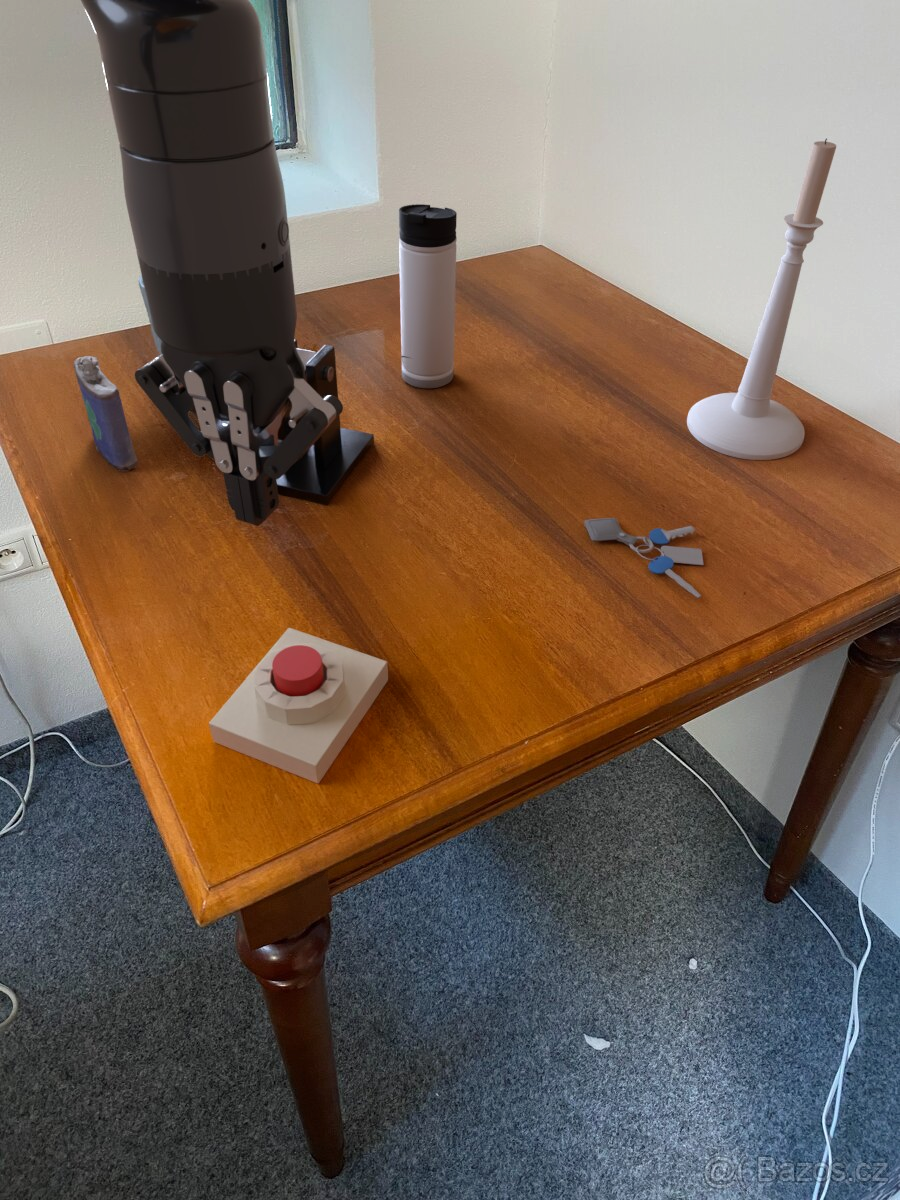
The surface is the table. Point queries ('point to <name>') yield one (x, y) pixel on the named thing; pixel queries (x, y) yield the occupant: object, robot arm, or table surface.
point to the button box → (300, 709)
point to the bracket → (323, 443)
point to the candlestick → (767, 348)
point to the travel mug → (427, 294)
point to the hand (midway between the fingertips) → (256, 516)
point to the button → (298, 670)
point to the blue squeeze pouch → (105, 414)
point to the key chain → (658, 565)
